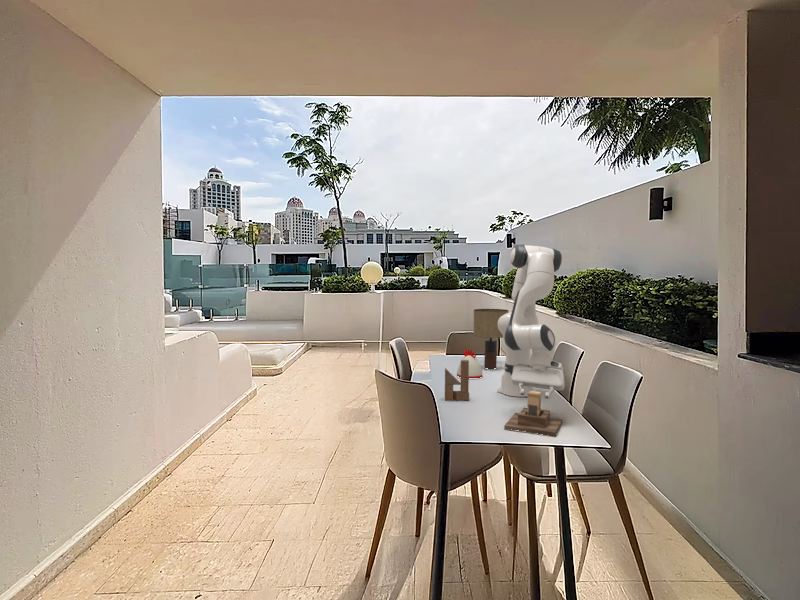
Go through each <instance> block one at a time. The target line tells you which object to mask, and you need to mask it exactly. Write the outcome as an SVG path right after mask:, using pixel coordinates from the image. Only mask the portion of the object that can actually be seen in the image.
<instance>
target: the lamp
mask: <svg viewBox="0 0 800 600" xmlns="http://www.w3.org/2000/svg"><path fill="white" fill-rule="evenodd" d="M506 313H509V309H501V308H477V309H473V337H478V338H483V339H484V338H487V339H484V367H485V368H488V369H494V368H496V369H497V365H498V364H497V363H498V362H497V357H498V356H497V355H498V353H497V351H498V349H497V348H498V347H497V345H498V340H496V339H504V337H503V335H502V333H501V332H500V331H499V329H498V320H499V318H500V317H501V316H503V315H504V314H506ZM488 338H489V339H488ZM485 368H484V369H485Z"/></svg>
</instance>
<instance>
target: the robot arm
mask: <svg viewBox="0 0 800 600" xmlns="http://www.w3.org/2000/svg"><path fill="white" fill-rule="evenodd" d="M562 261H563V257H562V252H560V250H558V249H556V248H549V247H546V246H542V245H541V246H540V245H531V244H530V245H525V244H516V245H515V246H514V247H513V248H512V250H511V252H510V263H511V264H512V266H513V267H515V268H517V270H516V274H515V278H514V281H513V287H512V293H511V299H512V301H513V306H512V310H511V311H510V312H509V313H506V314H504V315H503V316H501V317H500V318H499V320H498V329H499V331H500V332H501V333H502V335H503V337H504V338H503V341H504V344H505V363H504V372H503V373H502V374H501V378H500V379H501V380H500V382H501V383H500V387H499V388H498V389H497V390H496V392H497V393H501V394H504V395H505V394H506V395H505V396H509V397H518V398H519V397H522V398H524V397H528V393H529V392H530V391H535V392H538V391H537V389H545V390H549V391H548V392H547V391H546V392H545V393H544V394H545V395H544V398H545V399H548V400H550V398H551V397H550V396H551V395H552V394H553V393H554V391H559V392H560V391H561V392H562V391H564V389H565V375H564V367H563V364H562V363H561V362H558V361H556V360H554V359H553V357H554V356H555V351H556V336H555V333H554V331H552V330H551V328H550V327H549V326H547V325H546V324H539V318H538V316H537V313H536V312H537V311H536V302H537V301H539V300H542V299H544V298H546V297H548V296H549V295H550V294H551V293H552V291H553V290H554V285H555V283H554V282H555V272H558V271H559V269H560V268H561V265H562ZM531 352H532V353H531Z"/></svg>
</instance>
